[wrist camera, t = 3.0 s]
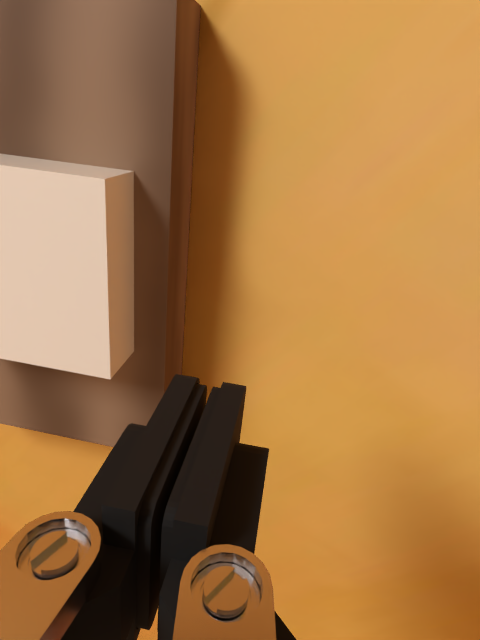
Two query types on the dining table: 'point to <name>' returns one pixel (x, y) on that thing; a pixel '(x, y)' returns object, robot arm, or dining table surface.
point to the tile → (66, 265)
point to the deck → (111, 152)
